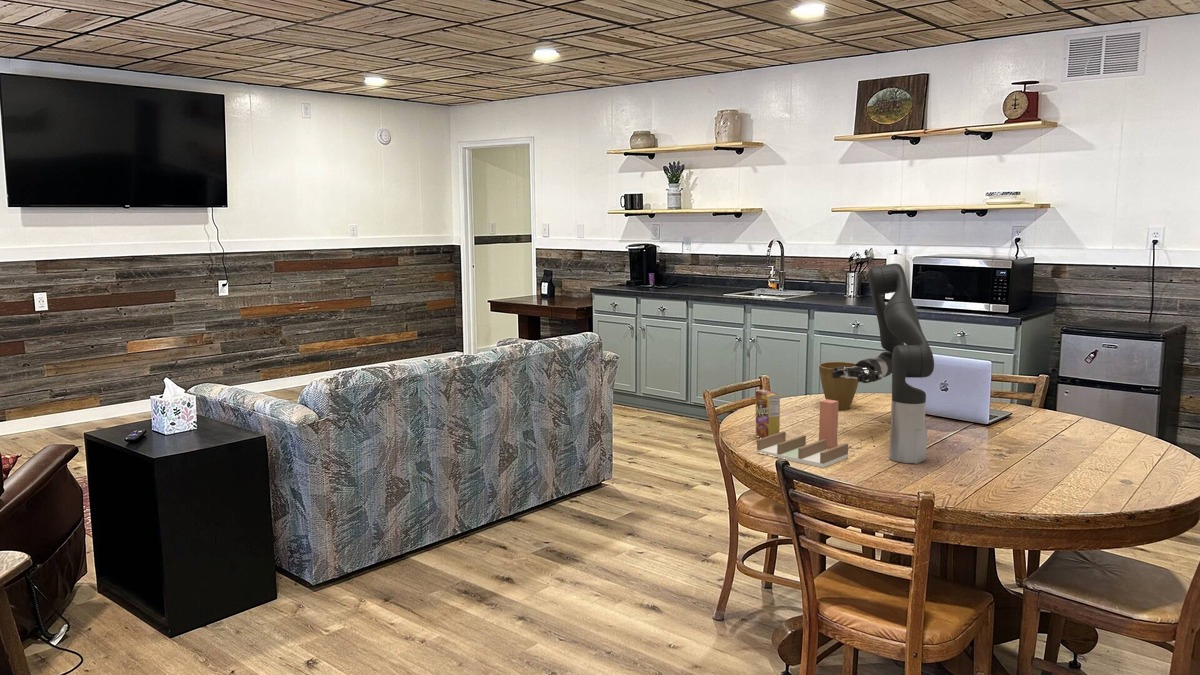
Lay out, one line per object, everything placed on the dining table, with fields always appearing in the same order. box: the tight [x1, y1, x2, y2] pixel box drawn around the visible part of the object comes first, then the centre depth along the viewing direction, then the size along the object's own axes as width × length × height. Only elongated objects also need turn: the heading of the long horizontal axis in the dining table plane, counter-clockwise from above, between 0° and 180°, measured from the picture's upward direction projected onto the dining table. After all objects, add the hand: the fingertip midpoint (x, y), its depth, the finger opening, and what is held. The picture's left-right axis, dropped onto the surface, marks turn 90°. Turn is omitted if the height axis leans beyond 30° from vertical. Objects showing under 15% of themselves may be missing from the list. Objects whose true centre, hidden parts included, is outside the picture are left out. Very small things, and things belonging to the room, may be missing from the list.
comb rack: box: [756, 430, 849, 469], centre depth 257 cm, size 22×14×4 cm, turn 46°
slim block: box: [818, 399, 839, 449], centre depth 267 cm, size 4×4×14 cm
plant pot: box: [818, 361, 859, 411], centre depth 319 cm, size 15×15×16 cm
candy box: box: [755, 388, 781, 439], centre depth 275 cm, size 9×4×15 cm, turn 17°
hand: (846, 376), depth 273 cm, fingers open, 8 cm apart
